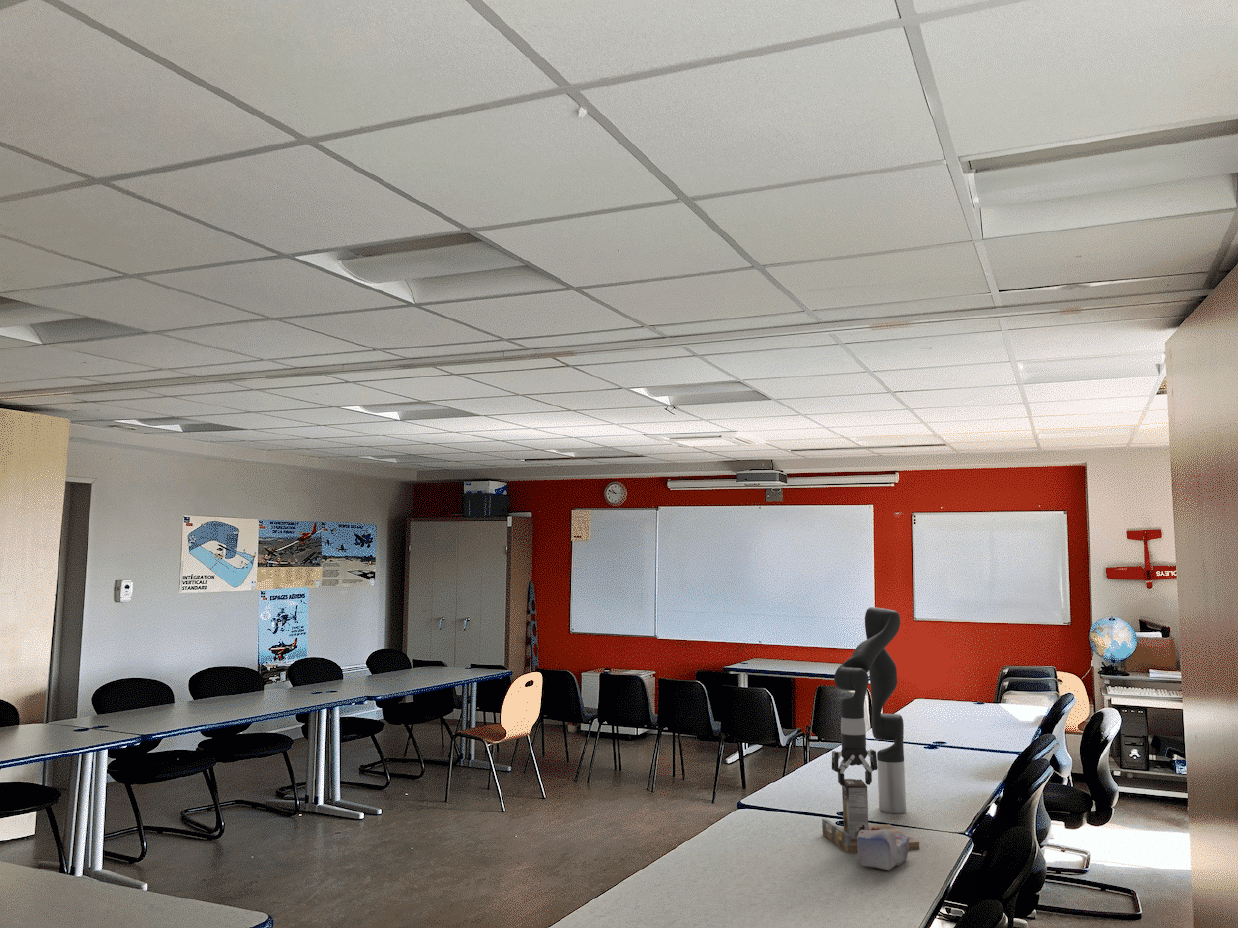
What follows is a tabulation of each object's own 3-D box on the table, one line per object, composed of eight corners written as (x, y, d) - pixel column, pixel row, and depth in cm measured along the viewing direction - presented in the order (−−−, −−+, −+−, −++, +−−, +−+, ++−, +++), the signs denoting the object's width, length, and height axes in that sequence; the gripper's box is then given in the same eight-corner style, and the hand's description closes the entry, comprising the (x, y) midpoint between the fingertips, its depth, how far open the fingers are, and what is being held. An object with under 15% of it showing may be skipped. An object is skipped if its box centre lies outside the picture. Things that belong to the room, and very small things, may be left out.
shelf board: (821, 834, 299) (821, 818, 299) (889, 830, 302) (889, 814, 303) (846, 852, 279) (846, 835, 280) (919, 848, 283) (918, 831, 283)
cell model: (852, 829, 265) (866, 814, 283) (854, 869, 263) (867, 852, 281) (899, 834, 259) (910, 819, 277) (901, 875, 258) (912, 857, 276)
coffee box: (842, 831, 295) (841, 778, 297) (863, 831, 295) (861, 778, 297) (848, 839, 286) (846, 785, 288) (869, 839, 286) (867, 785, 288)
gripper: (836, 734, 289) (838, 788, 287) (879, 733, 291) (881, 786, 290) (827, 730, 296) (829, 782, 295) (869, 728, 299) (871, 780, 297)
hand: (855, 784), depth 292 cm, fingers open, 8 cm apart
